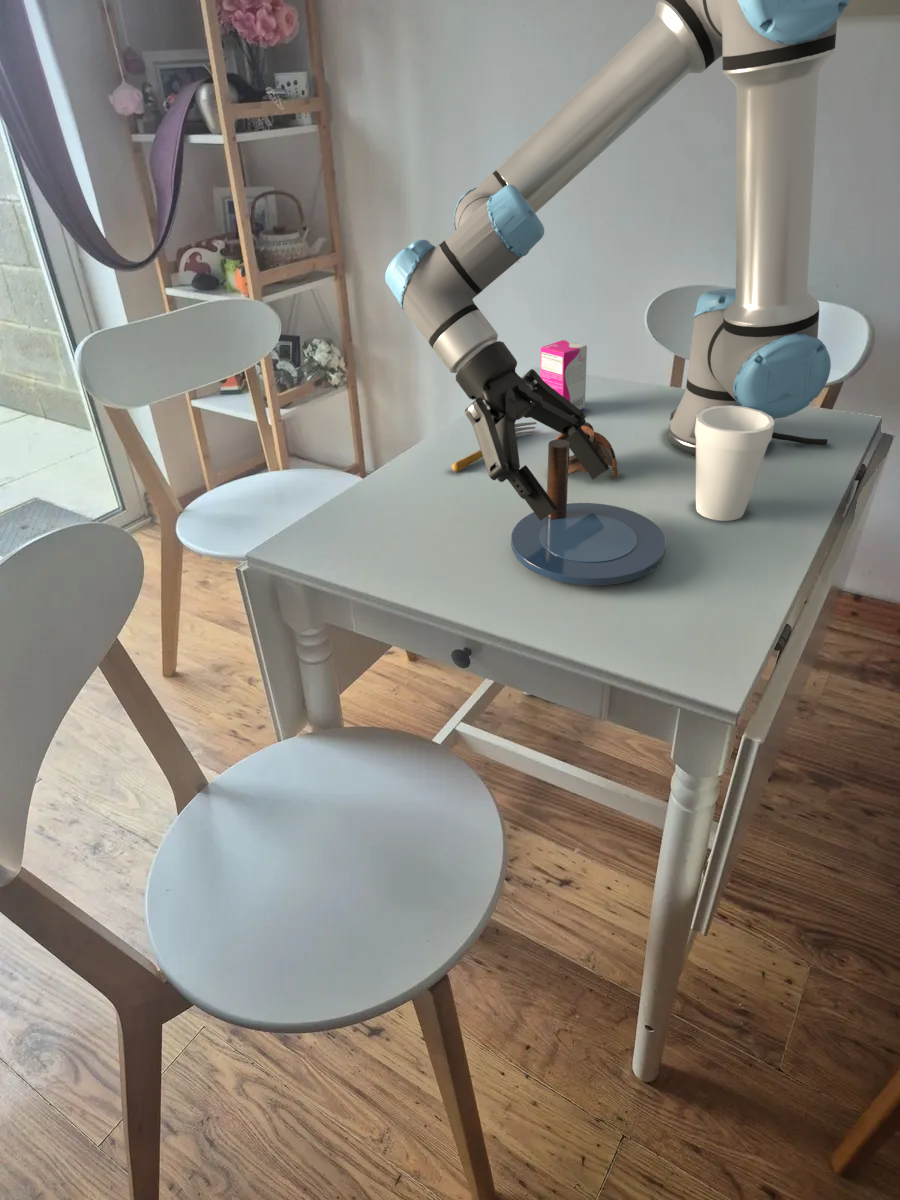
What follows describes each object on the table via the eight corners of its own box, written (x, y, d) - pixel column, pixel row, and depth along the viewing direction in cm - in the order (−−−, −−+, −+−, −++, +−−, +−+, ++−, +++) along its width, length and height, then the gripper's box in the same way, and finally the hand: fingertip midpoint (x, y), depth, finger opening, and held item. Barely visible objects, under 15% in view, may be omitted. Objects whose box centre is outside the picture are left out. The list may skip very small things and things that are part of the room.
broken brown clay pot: (625, 490, 118) (603, 449, 112) (565, 512, 122) (541, 474, 116) (619, 438, 126) (598, 398, 120) (562, 460, 129) (540, 423, 124)
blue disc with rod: (698, 557, 98) (711, 474, 92) (567, 602, 91) (572, 515, 85) (603, 497, 112) (609, 421, 106) (483, 532, 105) (482, 453, 99)
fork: (459, 465, 122) (537, 420, 134) (450, 459, 123) (528, 415, 135) (457, 478, 124) (534, 433, 136) (448, 473, 124) (525, 429, 136)
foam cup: (670, 510, 111) (682, 419, 104) (708, 488, 116) (722, 400, 109) (732, 533, 105) (749, 439, 98) (769, 509, 110) (788, 418, 103)
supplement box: (561, 402, 147) (563, 338, 140) (585, 411, 143) (589, 345, 136) (538, 410, 144) (539, 345, 137) (562, 419, 140) (565, 353, 133)
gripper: (511, 349, 114) (601, 472, 114) (399, 404, 97) (505, 547, 98) (545, 315, 108) (640, 444, 109) (433, 367, 91) (544, 519, 92)
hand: (576, 493), depth 103 cm, fingers open, 13 cm apart
